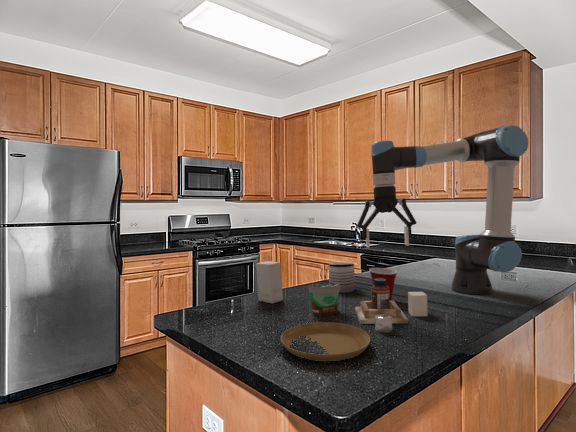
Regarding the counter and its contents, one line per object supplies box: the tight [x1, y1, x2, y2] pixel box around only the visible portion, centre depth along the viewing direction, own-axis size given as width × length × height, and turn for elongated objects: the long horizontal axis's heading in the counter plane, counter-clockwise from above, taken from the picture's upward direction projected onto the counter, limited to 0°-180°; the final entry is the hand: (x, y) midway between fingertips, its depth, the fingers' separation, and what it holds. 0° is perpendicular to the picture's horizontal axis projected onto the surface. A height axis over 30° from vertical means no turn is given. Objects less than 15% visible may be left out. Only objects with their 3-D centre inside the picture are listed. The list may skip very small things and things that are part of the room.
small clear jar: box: [374, 314, 393, 334], centre depth 114 cm, size 5×5×4 cm
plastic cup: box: [369, 267, 399, 301], centre depth 146 cm, size 11×11×12 cm
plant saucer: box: [280, 322, 371, 362], centre depth 103 cm, size 24×24×3 cm
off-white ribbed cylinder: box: [328, 261, 356, 293], centre depth 166 cm, size 11×11×12 cm
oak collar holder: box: [354, 299, 409, 325], centre depth 127 cm, size 15×15×4 cm
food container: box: [308, 282, 341, 317], centre depth 132 cm, size 12×6×10 cm, turn 117°
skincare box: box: [255, 260, 284, 304], centre depth 152 cm, size 8×7×16 cm
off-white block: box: [407, 291, 428, 317], centre depth 128 cm, size 5×5×7 cm
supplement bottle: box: [370, 278, 390, 309], centre depth 127 cm, size 6×6×11 cm
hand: (387, 246), depth 133 cm, fingers open, 13 cm apart
